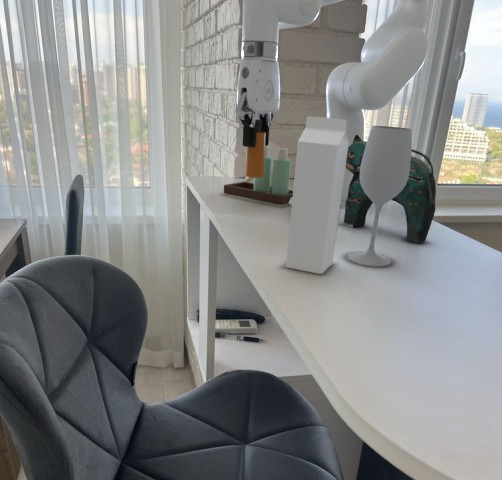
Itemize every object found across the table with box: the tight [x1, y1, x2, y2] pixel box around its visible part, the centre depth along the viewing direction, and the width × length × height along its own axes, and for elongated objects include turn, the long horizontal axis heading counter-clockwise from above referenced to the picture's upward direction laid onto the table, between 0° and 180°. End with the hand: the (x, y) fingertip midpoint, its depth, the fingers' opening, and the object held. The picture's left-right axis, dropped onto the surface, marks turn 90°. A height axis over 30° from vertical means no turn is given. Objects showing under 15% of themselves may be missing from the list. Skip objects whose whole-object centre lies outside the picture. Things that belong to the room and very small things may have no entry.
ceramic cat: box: [343, 135, 437, 244], centre depth 100 cm, size 20×6×20 cm, turn 45°
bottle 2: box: [271, 147, 292, 195], centre depth 122 cm, size 4×4×12 cm
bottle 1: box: [253, 145, 273, 193], centre depth 125 cm, size 4×4×12 cm
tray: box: [223, 181, 293, 206], centre depth 127 cm, size 18×9×3 cm, turn 54°
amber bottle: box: [244, 118, 266, 179], centre depth 114 cm, size 4×4×12 cm
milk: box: [285, 115, 349, 275], centre depth 76 cm, size 6×6×22 cm
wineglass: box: [347, 125, 413, 268], centre depth 82 cm, size 8×8×21 cm
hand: (255, 145), depth 113 cm, fingers closed on amber bottle, 4 cm apart
